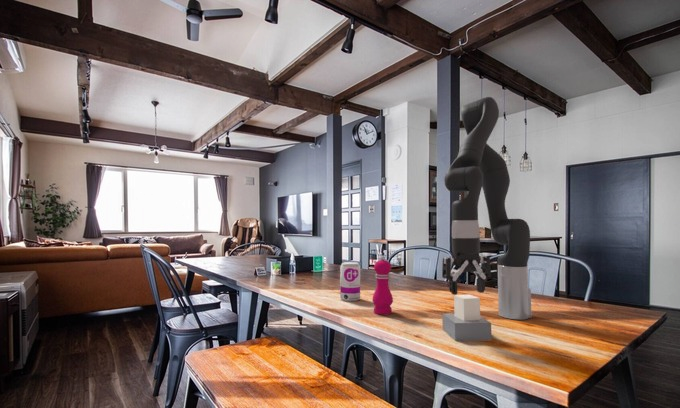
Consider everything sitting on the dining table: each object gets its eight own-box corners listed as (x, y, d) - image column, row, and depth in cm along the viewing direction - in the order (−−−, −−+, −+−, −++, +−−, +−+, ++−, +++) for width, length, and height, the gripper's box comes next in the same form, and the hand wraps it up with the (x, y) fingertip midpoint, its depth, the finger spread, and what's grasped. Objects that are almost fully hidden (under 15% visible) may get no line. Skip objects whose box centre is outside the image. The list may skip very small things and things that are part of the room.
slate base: (475, 330, 103) (475, 313, 104) (491, 341, 93) (491, 322, 94) (442, 330, 103) (442, 313, 103) (455, 342, 93) (454, 323, 93)
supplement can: (360, 301, 139) (360, 264, 140) (340, 301, 139) (340, 264, 140) (359, 297, 147) (359, 261, 148) (340, 297, 147) (340, 261, 148)
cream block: (469, 315, 101) (469, 294, 102) (480, 319, 97) (479, 297, 97) (454, 316, 100) (454, 295, 101) (464, 320, 96) (463, 298, 96)
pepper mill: (392, 315, 118) (392, 256, 119) (371, 314, 119) (371, 256, 121) (393, 310, 125) (393, 254, 126) (373, 309, 126) (373, 254, 128)
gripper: (479, 235, 105) (481, 289, 104) (436, 236, 101) (438, 292, 101) (495, 236, 97) (497, 294, 97) (450, 237, 94) (452, 297, 93)
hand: (467, 293), depth 99 cm, fingers open, 8 cm apart
